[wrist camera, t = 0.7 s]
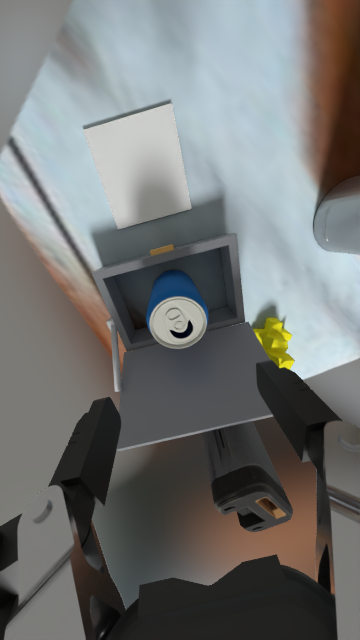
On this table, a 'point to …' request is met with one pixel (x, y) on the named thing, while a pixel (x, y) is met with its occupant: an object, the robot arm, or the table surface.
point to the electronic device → (244, 477)
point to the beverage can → (176, 310)
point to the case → (184, 359)
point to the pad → (140, 166)
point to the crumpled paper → (275, 342)
